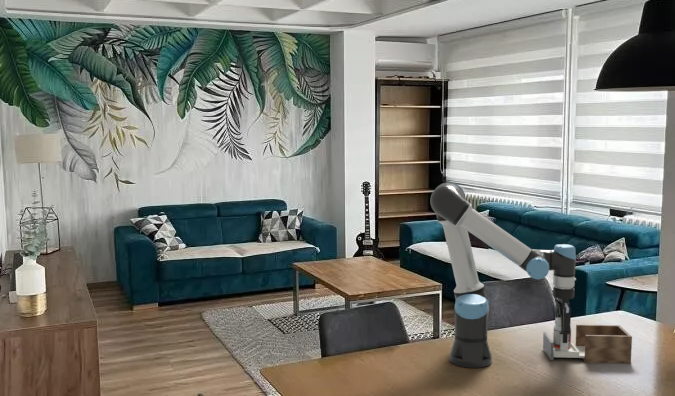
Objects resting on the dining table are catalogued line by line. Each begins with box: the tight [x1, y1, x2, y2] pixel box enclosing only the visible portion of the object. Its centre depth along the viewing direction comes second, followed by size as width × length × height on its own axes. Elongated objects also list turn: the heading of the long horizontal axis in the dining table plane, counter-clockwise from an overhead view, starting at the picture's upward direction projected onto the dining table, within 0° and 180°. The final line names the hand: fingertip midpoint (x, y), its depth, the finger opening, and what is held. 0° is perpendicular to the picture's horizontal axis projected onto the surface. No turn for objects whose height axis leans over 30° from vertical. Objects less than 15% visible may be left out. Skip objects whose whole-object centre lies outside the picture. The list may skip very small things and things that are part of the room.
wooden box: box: [575, 324, 633, 365], centre depth 263 cm, size 16×14×10 cm
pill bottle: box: [552, 317, 572, 351], centre depth 264 cm, size 6×6×11 cm
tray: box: [542, 331, 585, 361], centre depth 264 cm, size 16×13×6 cm
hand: (561, 347), depth 265 cm, fingers closed on pill bottle, 6 cm apart
